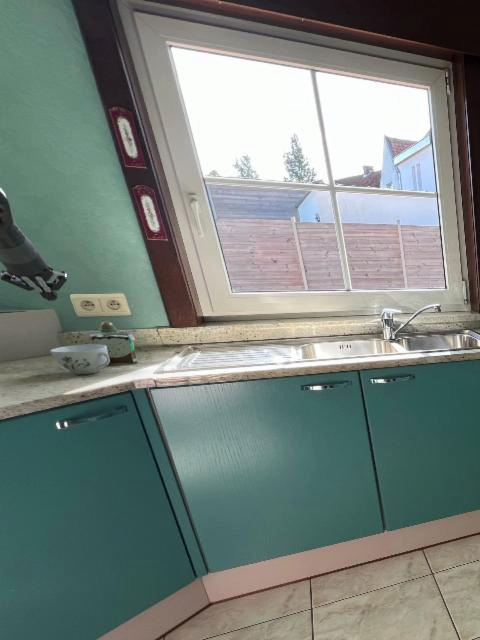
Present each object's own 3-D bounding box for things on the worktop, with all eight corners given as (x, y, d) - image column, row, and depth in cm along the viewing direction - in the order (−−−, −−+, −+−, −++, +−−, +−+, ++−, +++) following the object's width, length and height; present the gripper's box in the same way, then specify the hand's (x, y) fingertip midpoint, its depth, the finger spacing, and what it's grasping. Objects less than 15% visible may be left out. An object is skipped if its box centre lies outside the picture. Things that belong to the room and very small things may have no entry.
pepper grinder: (113, 357, 178) (102, 322, 173) (105, 356, 179) (93, 321, 174) (129, 355, 182) (118, 321, 177) (120, 354, 183) (109, 320, 179)
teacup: (47, 375, 151) (37, 349, 148) (89, 367, 162) (80, 343, 159) (93, 378, 150) (84, 352, 147) (132, 369, 161) (124, 345, 159)
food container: (151, 360, 175) (142, 332, 171) (139, 364, 169) (129, 334, 165) (111, 360, 173) (101, 331, 169) (97, 364, 167) (87, 334, 163)
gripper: (52, 241, 127) (84, 287, 142) (-23, 239, 121) (18, 287, 135) (52, 263, 125) (84, 308, 139) (-24, 262, 119) (18, 309, 133)
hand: (52, 298), depth 137 cm, fingers closed
